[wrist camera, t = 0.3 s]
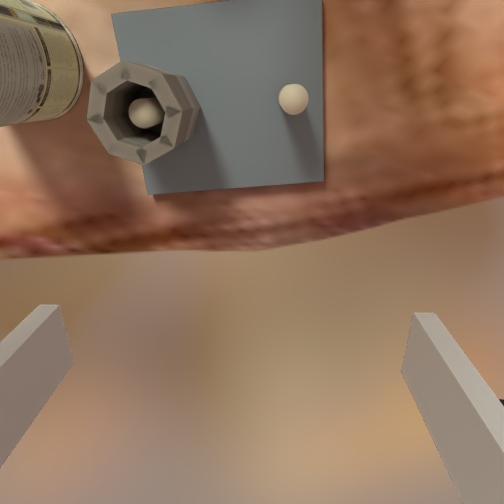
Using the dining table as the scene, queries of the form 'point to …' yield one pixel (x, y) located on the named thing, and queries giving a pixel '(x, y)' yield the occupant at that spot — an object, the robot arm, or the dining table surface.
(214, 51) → the pin board
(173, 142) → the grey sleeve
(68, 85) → the coffee can
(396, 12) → the dining table surface
